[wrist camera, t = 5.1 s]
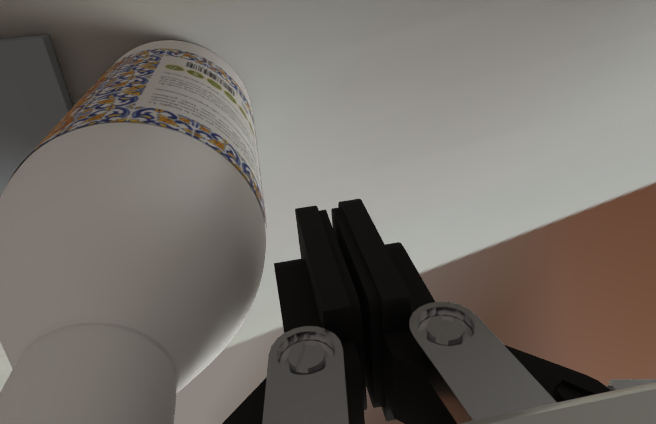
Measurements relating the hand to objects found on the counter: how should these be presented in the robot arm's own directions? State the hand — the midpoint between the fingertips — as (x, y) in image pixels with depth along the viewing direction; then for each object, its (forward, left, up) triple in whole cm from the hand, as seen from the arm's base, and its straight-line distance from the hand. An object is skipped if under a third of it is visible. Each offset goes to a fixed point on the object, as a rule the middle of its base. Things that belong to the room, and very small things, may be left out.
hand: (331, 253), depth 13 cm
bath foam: (+5, 0, -14) cm, 15 cm away
